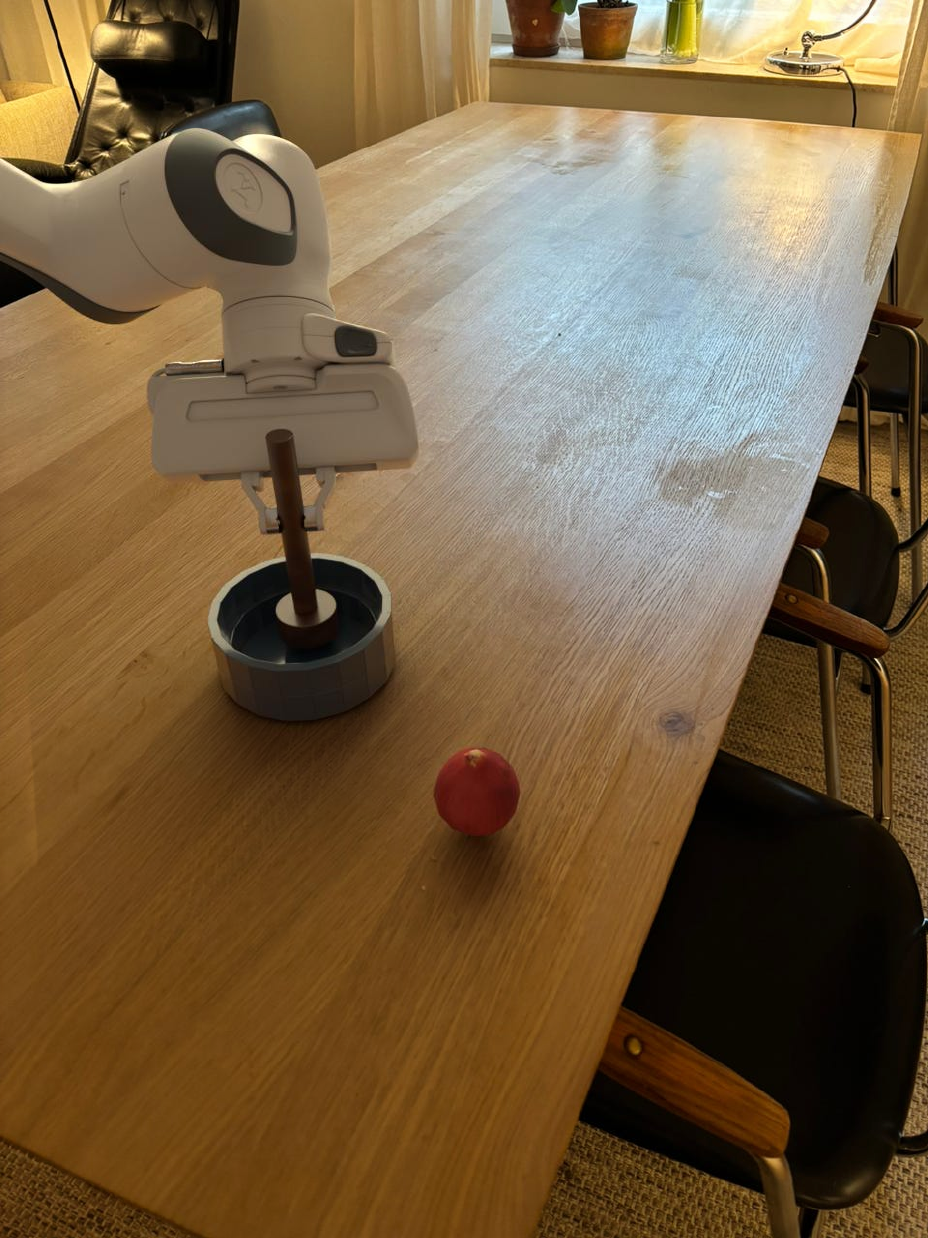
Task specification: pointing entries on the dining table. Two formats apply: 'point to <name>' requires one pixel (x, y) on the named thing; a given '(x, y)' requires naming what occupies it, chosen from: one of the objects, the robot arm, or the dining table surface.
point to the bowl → (293, 676)
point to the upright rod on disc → (297, 555)
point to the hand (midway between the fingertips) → (293, 532)
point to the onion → (477, 792)
